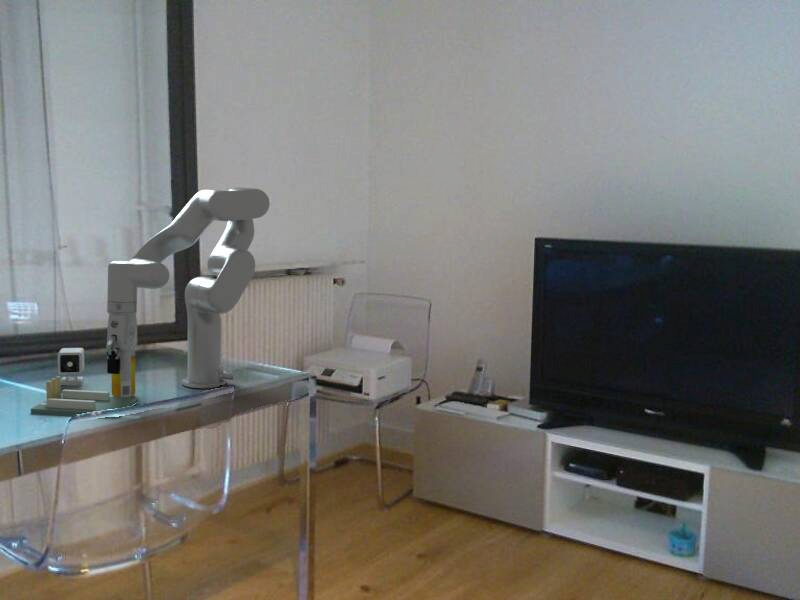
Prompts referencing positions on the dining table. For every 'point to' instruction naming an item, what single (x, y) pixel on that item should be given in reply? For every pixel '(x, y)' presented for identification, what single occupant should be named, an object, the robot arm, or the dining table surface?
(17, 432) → the dining table surface
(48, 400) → the board
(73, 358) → the security camera
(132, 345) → the beer can
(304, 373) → the dining table surface
